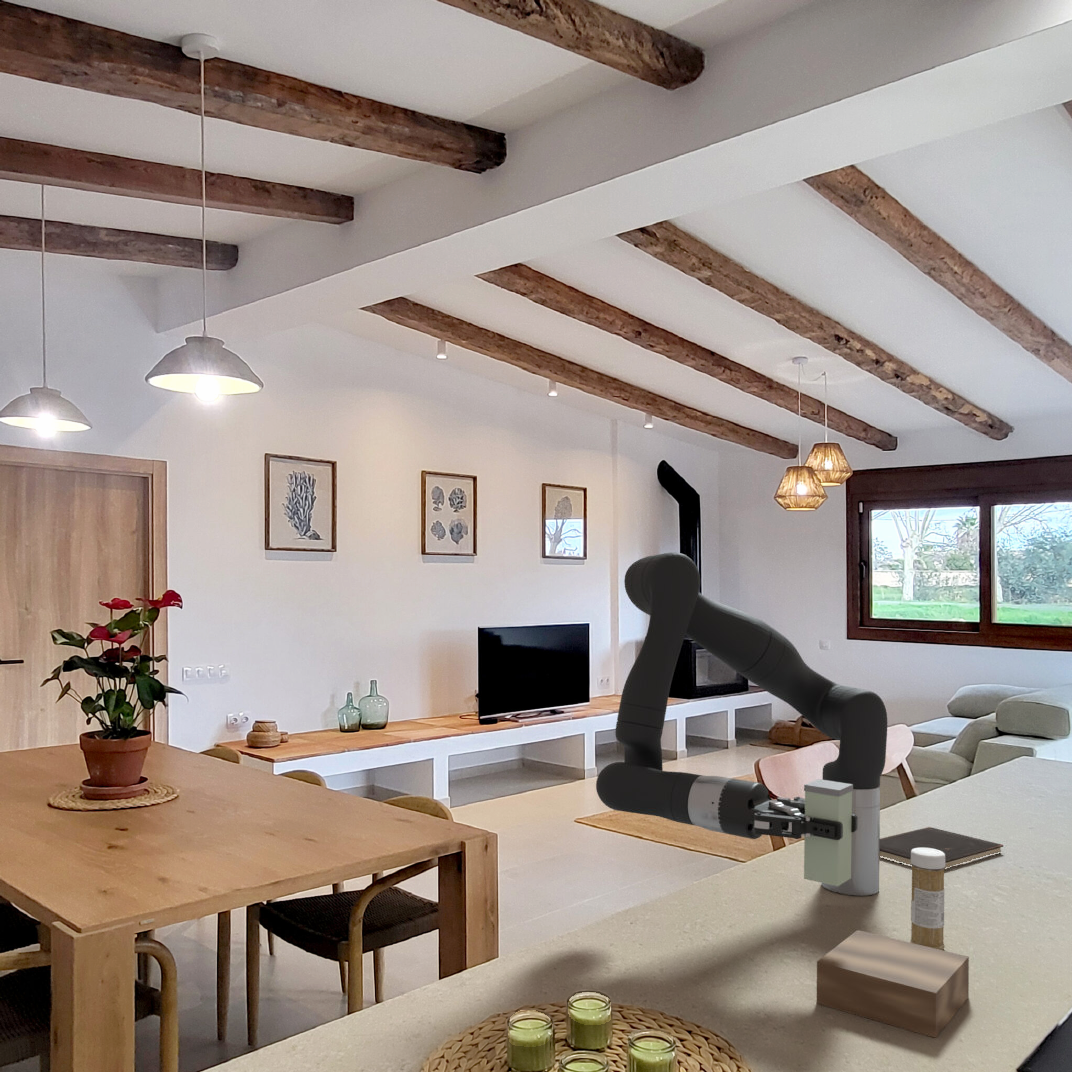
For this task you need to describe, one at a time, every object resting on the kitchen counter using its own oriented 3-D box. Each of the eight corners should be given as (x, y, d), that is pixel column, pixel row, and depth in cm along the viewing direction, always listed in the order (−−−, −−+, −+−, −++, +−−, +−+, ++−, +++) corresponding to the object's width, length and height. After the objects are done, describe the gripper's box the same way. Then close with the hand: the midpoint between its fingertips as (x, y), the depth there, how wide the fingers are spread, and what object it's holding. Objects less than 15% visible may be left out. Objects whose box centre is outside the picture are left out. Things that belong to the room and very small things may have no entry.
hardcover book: (1003, 857, 189) (1003, 844, 189) (934, 877, 175) (934, 864, 175) (926, 837, 202) (926, 826, 202) (856, 854, 188) (856, 842, 188)
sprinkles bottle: (917, 938, 144) (918, 844, 144) (949, 947, 140) (950, 851, 141) (904, 946, 140) (905, 850, 141) (937, 956, 137) (937, 857, 138)
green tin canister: (817, 870, 132) (818, 779, 133) (852, 878, 129) (853, 784, 130) (802, 878, 129) (804, 784, 129) (838, 886, 126) (839, 790, 126)
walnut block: (857, 968, 132) (857, 930, 132) (968, 997, 124) (968, 956, 124) (816, 1003, 121) (816, 961, 121) (935, 1037, 113) (936, 993, 113)
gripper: (704, 786, 133) (828, 808, 122) (752, 770, 144) (869, 789, 133) (703, 843, 132) (827, 869, 122) (751, 823, 144) (869, 845, 133)
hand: (848, 827), depth 128 cm, fingers closed on green tin canister, 4 cm apart
